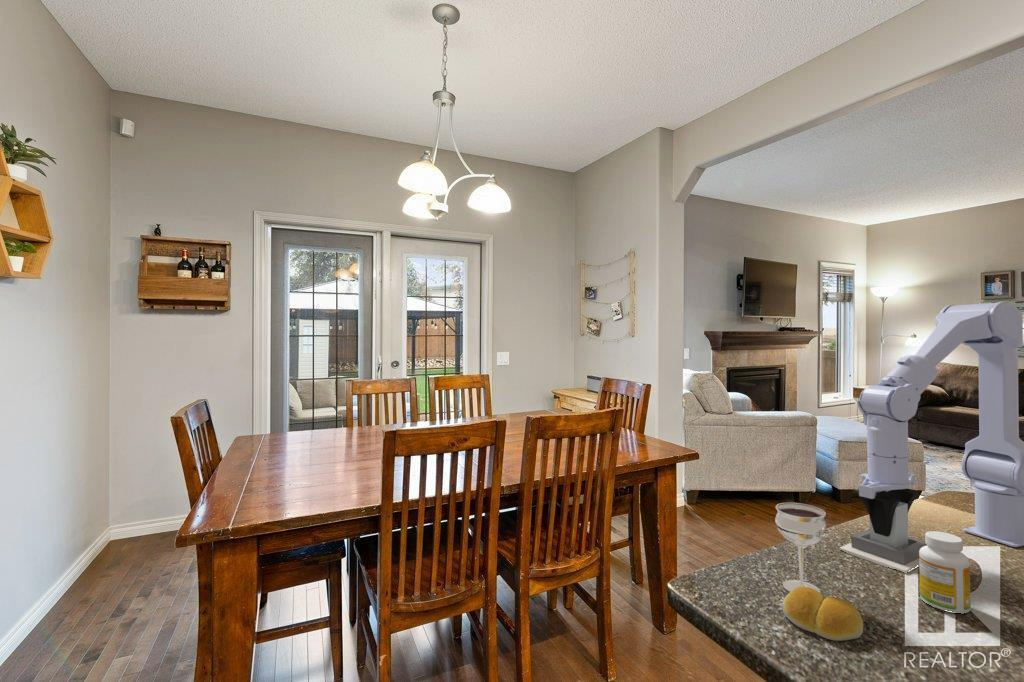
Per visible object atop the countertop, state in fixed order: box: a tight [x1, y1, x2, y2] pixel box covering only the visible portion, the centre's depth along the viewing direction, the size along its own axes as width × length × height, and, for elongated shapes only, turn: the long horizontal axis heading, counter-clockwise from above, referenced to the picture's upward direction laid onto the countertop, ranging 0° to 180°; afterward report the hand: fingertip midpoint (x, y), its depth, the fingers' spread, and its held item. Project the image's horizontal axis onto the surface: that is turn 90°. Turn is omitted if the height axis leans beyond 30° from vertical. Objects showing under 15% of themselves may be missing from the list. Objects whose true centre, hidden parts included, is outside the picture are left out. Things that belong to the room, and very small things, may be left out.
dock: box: [838, 528, 927, 574], centre depth 85 cm, size 12×10×2 cm
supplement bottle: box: [919, 530, 972, 615], centre depth 69 cm, size 5×5×10 cm
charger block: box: [869, 502, 909, 549], centre depth 85 cm, size 4×4×8 cm
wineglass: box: [774, 502, 827, 594], centre depth 74 cm, size 7×7×12 cm
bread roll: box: [781, 587, 864, 642], centre depth 66 cm, size 8×9×4 cm
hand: (888, 531), depth 85 cm, fingers closed on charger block, 4 cm apart
